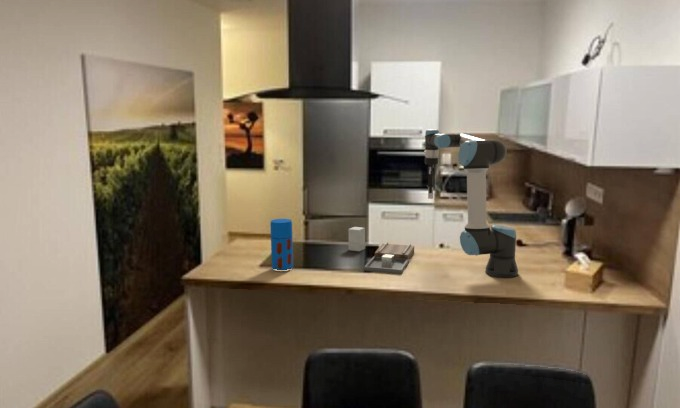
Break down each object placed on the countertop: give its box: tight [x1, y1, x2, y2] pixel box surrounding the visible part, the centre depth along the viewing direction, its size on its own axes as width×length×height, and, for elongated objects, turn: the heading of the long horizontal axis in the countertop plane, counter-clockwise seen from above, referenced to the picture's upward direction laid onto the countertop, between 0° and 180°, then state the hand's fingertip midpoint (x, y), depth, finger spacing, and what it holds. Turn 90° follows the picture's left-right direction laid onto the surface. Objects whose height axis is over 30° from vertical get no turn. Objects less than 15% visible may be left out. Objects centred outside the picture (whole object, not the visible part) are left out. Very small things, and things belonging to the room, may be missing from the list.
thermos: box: [269, 218, 294, 270], centre depth 252 cm, size 11×11×25 cm
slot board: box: [374, 241, 415, 261], centre depth 276 cm, size 18×20×5 cm
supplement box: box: [348, 226, 366, 252], centre depth 290 cm, size 7×7×13 cm
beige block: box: [382, 255, 393, 267], centre depth 256 cm, size 5×5×4 cm
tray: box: [363, 255, 410, 275], centre depth 257 cm, size 19×20×2 cm
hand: (430, 198), depth 287 cm, fingers closed
